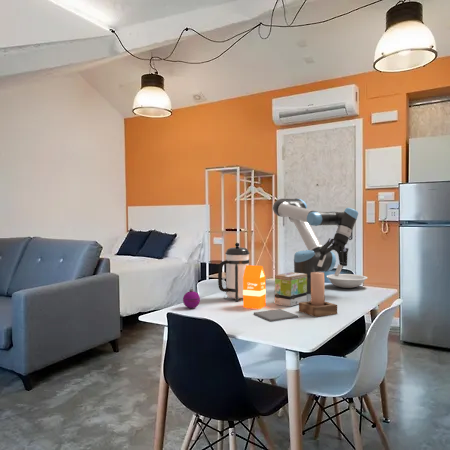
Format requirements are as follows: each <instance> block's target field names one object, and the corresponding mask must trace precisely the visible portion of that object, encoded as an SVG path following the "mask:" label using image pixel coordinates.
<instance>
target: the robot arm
mask: <svg viewBox="0 0 450 450" xmlns="http://www.w3.org/2000/svg"><path fill="white" fill-rule="evenodd" d="M272 210H273V213H274V214H275V215H276V216H278V217H282V218H286V217H287V218H288V219H289V221H290V222H292V223H294V225H295V227H296V230H297V231H298V233H299V235H300V237H301V239H302V241H303V242H304V245H305V246H306V248H307V249H306V250H300V251H296V252H295V253H294V255H293V268H294V269H293V272H294V273H303V274H307V295H308V294H311V272H323V273H325V272H329V271H332V270H333V269H334V268H335V266H336V262H337V258H336V255H335V253H334V252H336V253H337V255H338V261H339V264H337V267H336V270H335V272H334V273H333V274H334V276H337V277H339V274H341V272H342V270H343V268H344V267H348V253H349V248H348V247H345V246H346V245H347V244H348V241H349V240H350V239H349V238H350V237H351V234H352V231H353V229H354V226H355V224H356V221H357V219H358V217H359V212H358V210H356V209H354V208H351V207H346V208H345V209H344V211H343V212H342V211H317V210H313V209H308V205H307V203H306V201H304V200H303V199H300V198H278V199H277V200H275V202H273V206H272ZM312 226H313V227H317V226H337V228H336V231H335V234H334V236H333V238H328V240H327V241H326V242H325V243H324V244H323V245H322V243H321V241H320V239H319V237H318V236H317V234H316V232H315V230H314V228H313V227H312ZM333 251H334V252H333Z"/></svg>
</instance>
